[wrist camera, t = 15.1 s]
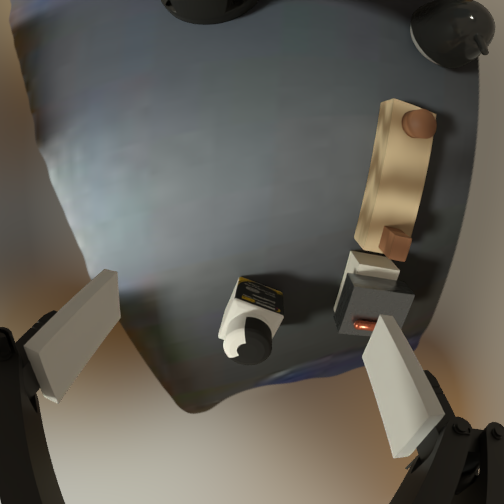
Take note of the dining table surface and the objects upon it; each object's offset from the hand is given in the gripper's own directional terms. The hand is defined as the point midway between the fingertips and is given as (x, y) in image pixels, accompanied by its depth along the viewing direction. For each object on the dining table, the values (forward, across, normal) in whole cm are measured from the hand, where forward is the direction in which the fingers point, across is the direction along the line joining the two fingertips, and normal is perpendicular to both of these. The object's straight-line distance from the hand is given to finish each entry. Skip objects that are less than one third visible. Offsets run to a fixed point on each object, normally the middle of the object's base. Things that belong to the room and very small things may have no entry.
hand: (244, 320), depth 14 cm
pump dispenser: (+29, +21, +30) cm, 47 cm away
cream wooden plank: (+29, +17, +7) cm, 34 cm away
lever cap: (+24, +17, -10) cm, 31 cm away
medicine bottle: (+29, +1, -16) cm, 33 cm away
